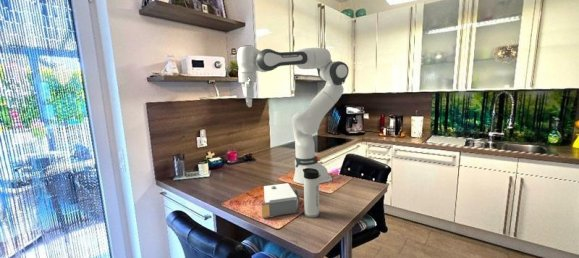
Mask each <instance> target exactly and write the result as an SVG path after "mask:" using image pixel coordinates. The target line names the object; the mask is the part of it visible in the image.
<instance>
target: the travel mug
mask: <svg viewBox="0 0 579 258" xmlns="http://www.w3.org/2000/svg"><path fill="white" fill-rule="evenodd" d="M303 172H304V184H303V198H304V199H303V200H304V201H303V205H304V206H303V207H304V208H303V209H304V212H303V213H304V216H306V217H307V218H310V219H311V218H312V219H314V218H317V217H319V215H320V184H319V171H318V170H317V169H313V168H305V169H303Z"/></svg>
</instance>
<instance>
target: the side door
mask: <svg viewBox="0 0 579 258" xmlns="http://www.w3.org/2000/svg"><path fill="white" fill-rule="evenodd" d="M260 205H261V217H262V219H264V218H271V217H278V216H282V215H290V214H296V213H299V197H298V198H295V199H288V200H281V201H273V202H266V203H265V202H261V204H260Z"/></svg>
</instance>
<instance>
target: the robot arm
mask: <svg viewBox="0 0 579 258" xmlns="http://www.w3.org/2000/svg"><path fill="white" fill-rule="evenodd" d="M331 55H332V54H331V52H330V50H328V49H327V48H322V47H305V48H302V49H298V50H296V51H283V52H281V51H276V50H273V49H271V48H266V49H265V48H264V49H262V50H260V49H258V48H256V47H255V46H254V45H251V44H246V45H243V46H241V47H239V48H238V49H237V60H236V61H237V66H238V72H237V73H238V74H237V75H238V83H240V84H241V89H242V93H243V97H244V98H245V102H246V103H245V104H246V106H247V107H248V108H251V107H253V106H252V105H253V98H254V97H255V93H254V92H255V91H254V86H255V83H257V72H260V73H266V72H272V71H273V70H275V69H277V68H279V67H285V66H296V67H297V68H298V69H301V70H314V69H315V70H317V74H318V77H319V79H320V80H321V81H323V82H325V85H324V87H323V88H322V89H321V90H320V91H319V92H318V93H317V94H316V95H315V96H314V98H313V99H311V101H310V103H309V105H308V107H307V109H306V111H304V112H302V111H301V112H297V113H295V114H293V116H291V120H290V121H291V122H290V123H291V126H292V134H293V139H294V148H295V149H294V150H295V151H294V153H295V156H294V166H295V168H294V176H293V182H294V183H297V184H301V185H304V172H303V169H305V168H313V169H317V170H318V171H319V185H320V184H324V183H329V182H332V181H333V178H332V176H331V175H330V174H329V172H328V169H327V168H326V166H325V165H323V164H322V163H320V161H321V160H322V158H321V157H319V156H316V155H315V154H316V152H315V141H314V137H313V135H314V134H316V133H317V132H318V131H319V129H320V125H321V123H322V122H323V120H324V118H325V116H326V115H327V113H328V112H330V110H331V109H332V108H333V107H334V106H335V104H337V102H338V101H339V99H340V98H341V97H342V95H343V93H344V86H343V84H345V83H346V80H347V77H348V76H349V71H350V70H349V67H348V65H347V63H345V62H343V61H339V60H337V61H333V59H331V58H332V56H331Z"/></svg>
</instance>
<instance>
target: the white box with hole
mask: <svg viewBox="0 0 579 258" xmlns="http://www.w3.org/2000/svg"><path fill="white" fill-rule="evenodd" d="M263 193H264V194H263V195H264V196H263V197H264V198H263V199H264V203H266V202H273V201H281V200H288V199H295V198H298V199H299V193H298V190H297V189H293V188H292V187H291V185H290V184H289V182H288V183H279V184H278V183H277V184H271V185H264V186H263Z"/></svg>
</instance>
